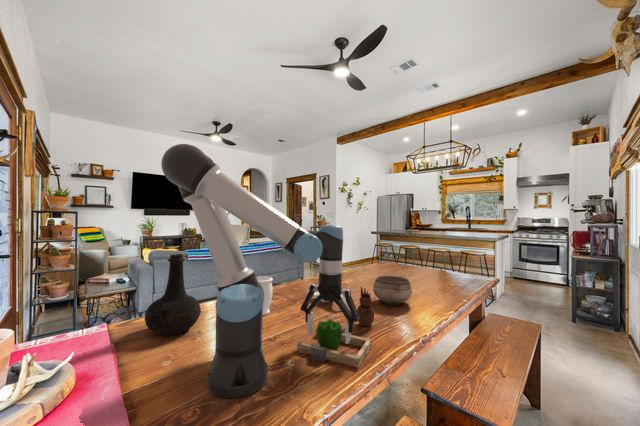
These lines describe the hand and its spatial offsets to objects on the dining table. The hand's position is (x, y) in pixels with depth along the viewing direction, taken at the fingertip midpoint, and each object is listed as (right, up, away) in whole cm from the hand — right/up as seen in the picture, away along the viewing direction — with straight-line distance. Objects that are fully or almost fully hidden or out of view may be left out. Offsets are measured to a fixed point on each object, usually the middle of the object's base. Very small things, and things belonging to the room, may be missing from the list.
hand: (328, 337), depth 90 cm
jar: (-29, -3, +31) cm, 43 cm away
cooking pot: (+33, -5, +47) cm, 58 cm away
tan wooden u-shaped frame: (+2, -3, -1) cm, 4 cm away
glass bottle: (-57, -3, +11) cm, 58 cm away
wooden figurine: (+15, -4, +19) cm, 25 cm away
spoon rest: (+2, -4, +45) cm, 45 cm away
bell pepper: (0, -4, 0) cm, 4 cm away
